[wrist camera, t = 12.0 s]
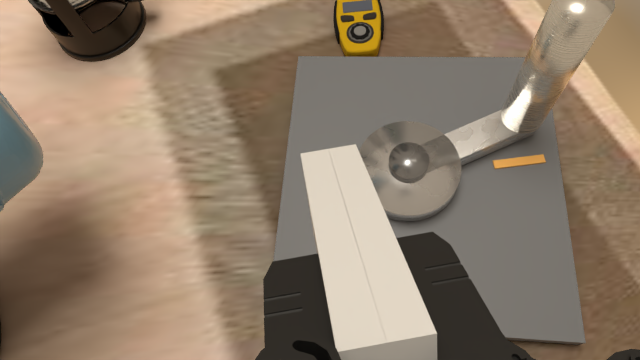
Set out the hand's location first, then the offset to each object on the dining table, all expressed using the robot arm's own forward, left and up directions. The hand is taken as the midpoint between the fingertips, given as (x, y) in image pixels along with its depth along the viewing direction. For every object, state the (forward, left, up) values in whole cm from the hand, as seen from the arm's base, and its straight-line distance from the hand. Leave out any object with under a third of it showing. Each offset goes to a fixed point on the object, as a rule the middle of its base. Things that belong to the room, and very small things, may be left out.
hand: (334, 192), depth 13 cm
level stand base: (+4, +11, -24) cm, 27 cm away
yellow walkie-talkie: (-1, +31, -25) cm, 40 cm away
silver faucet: (+7, +13, -23) cm, 27 cm away
